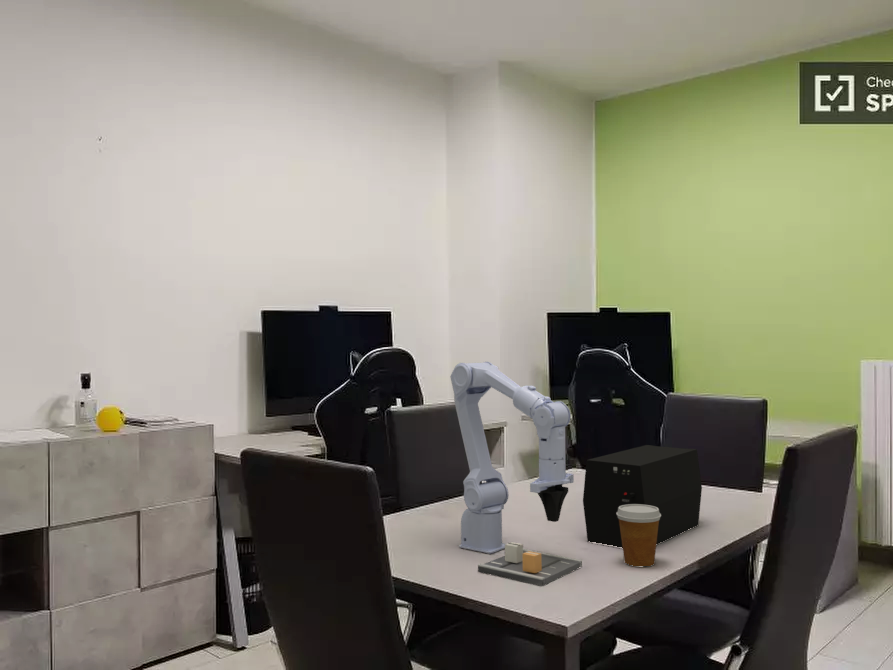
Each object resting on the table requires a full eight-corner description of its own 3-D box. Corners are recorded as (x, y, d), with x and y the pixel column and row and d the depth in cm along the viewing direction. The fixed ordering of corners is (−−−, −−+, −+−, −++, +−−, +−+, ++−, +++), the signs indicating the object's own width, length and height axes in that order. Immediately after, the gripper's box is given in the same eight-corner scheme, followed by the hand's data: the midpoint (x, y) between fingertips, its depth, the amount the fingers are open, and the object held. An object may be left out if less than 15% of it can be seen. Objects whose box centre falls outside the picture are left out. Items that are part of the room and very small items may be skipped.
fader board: (478, 571, 164) (477, 564, 164) (520, 554, 176) (520, 548, 176) (542, 586, 154) (541, 578, 154) (582, 567, 166) (582, 560, 166)
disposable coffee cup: (608, 563, 168) (607, 508, 168) (632, 554, 175) (631, 501, 175) (647, 572, 161) (646, 515, 162) (670, 562, 168) (669, 507, 168)
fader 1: (505, 560, 166) (504, 544, 166) (511, 558, 168) (511, 541, 168) (516, 563, 164) (516, 546, 164) (523, 560, 166) (522, 543, 166)
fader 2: (522, 570, 159) (522, 553, 159) (529, 567, 161) (529, 550, 161) (534, 573, 157) (534, 555, 157) (541, 570, 159) (541, 552, 159)
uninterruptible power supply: (702, 526, 200) (701, 449, 200) (642, 555, 175) (641, 467, 175) (644, 517, 211) (643, 444, 211) (579, 543, 185) (578, 460, 186)
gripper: (549, 464, 159) (550, 530, 159) (585, 455, 170) (586, 517, 170) (521, 461, 164) (522, 525, 163) (557, 452, 175) (558, 512, 175)
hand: (552, 520), depth 167 cm, fingers closed
